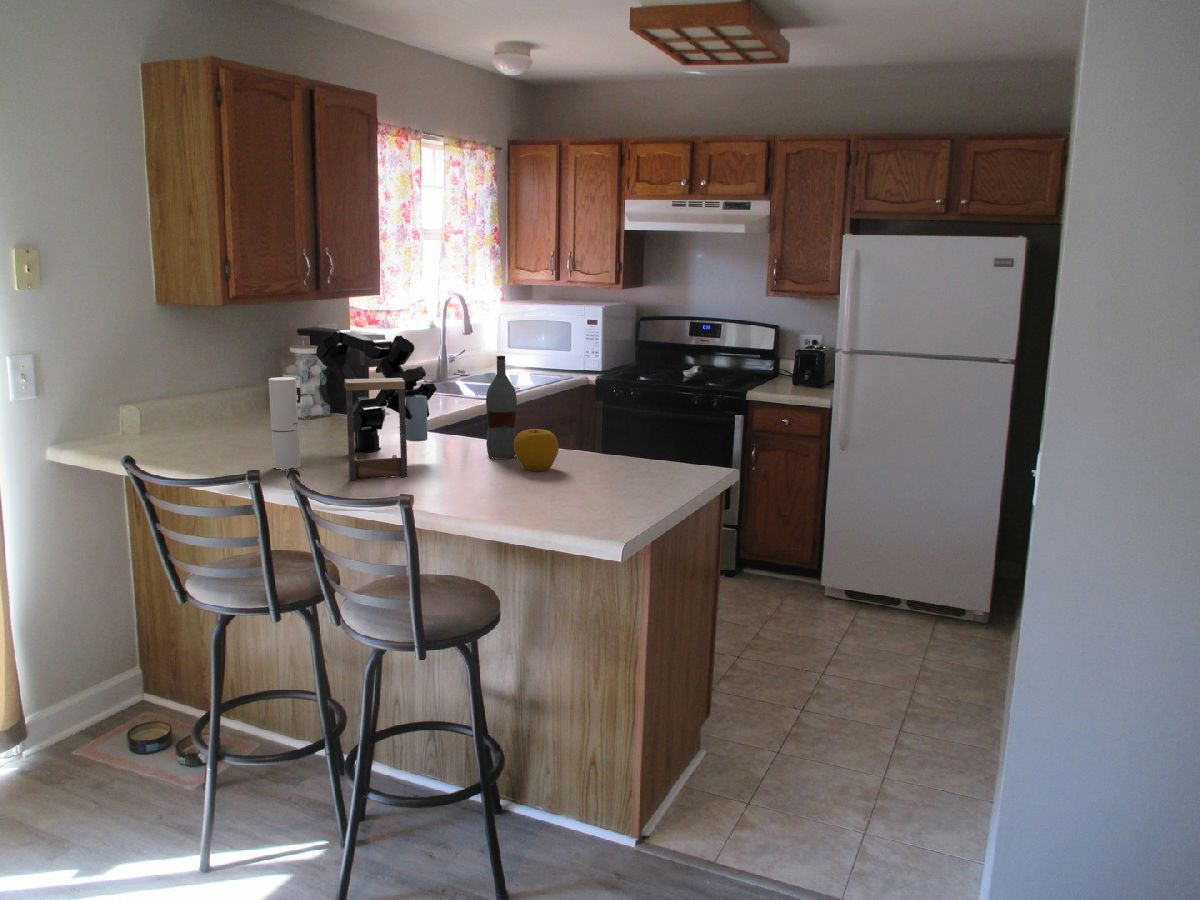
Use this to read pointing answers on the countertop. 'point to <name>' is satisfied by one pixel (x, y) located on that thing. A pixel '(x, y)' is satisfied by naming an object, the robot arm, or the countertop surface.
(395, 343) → the robot arm
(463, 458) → the countertop surface
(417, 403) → the blue-grey tall cylinder
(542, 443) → the apple
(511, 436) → the bottle
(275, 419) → the cylindrical container
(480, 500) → the countertop surface
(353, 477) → the shelf bay
